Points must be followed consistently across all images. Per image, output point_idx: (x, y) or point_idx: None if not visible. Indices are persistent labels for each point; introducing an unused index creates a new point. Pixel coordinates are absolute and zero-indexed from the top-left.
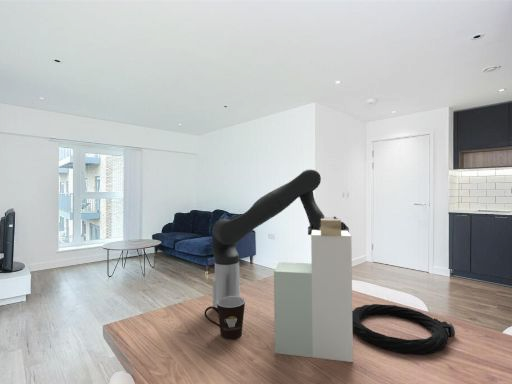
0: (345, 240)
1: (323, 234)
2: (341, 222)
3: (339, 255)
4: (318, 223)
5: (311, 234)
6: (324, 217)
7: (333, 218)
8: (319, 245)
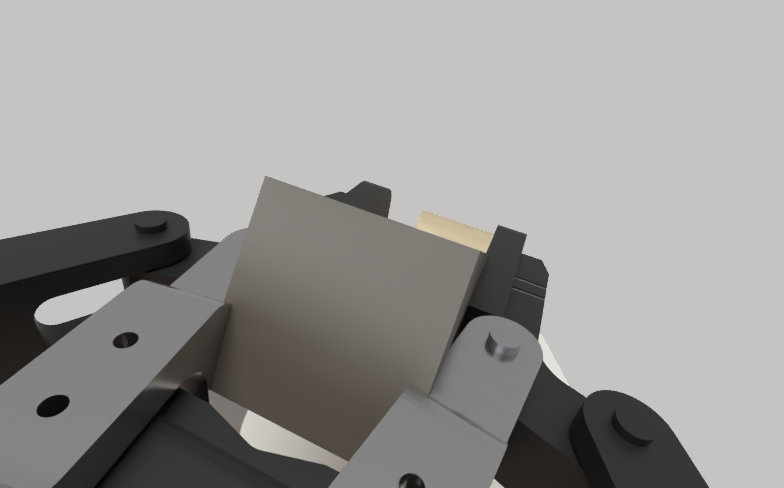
0: None
1: None
2: (182, 224)
3: None
4: (543, 384)
5: (543, 338)
6: (453, 241)
7: (371, 209)
8: None
